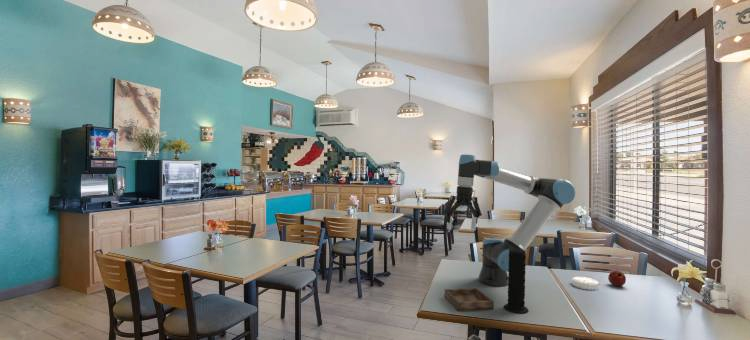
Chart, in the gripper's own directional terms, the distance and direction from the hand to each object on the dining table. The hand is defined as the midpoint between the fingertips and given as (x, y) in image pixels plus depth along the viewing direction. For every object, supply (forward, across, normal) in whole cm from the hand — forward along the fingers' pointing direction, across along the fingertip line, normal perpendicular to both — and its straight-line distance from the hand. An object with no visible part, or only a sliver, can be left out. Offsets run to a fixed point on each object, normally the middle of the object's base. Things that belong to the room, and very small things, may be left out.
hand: (461, 229), depth 167 cm
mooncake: (+26, -70, +11) cm, 76 cm away
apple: (+25, -87, +16) cm, 92 cm away
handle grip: (+29, -15, +24) cm, 41 cm away
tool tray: (+30, +2, +13) cm, 33 cm away
